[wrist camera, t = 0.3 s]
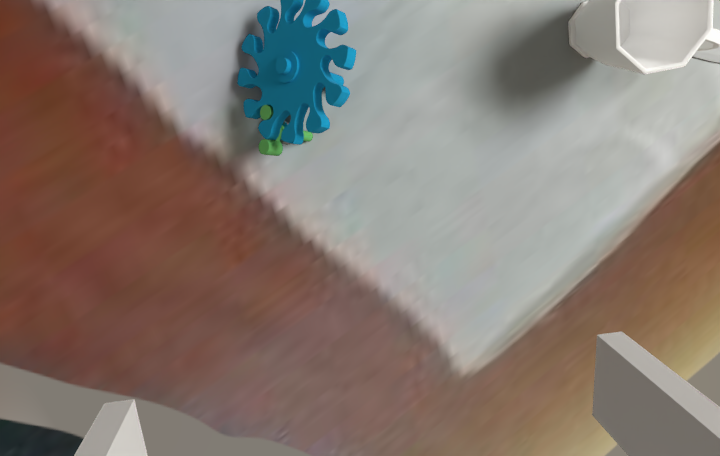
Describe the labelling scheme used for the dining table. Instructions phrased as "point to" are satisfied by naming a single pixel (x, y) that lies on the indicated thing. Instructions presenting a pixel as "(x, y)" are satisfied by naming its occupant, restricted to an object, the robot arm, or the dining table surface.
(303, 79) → the gear
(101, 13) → the dining table surface
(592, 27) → the cup
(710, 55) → the butter knife
